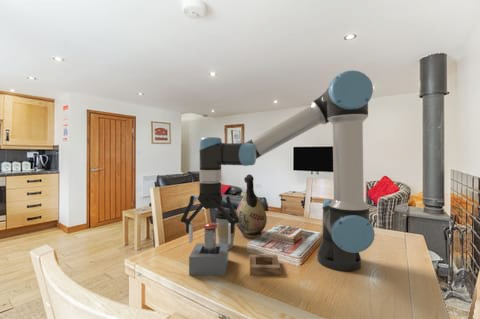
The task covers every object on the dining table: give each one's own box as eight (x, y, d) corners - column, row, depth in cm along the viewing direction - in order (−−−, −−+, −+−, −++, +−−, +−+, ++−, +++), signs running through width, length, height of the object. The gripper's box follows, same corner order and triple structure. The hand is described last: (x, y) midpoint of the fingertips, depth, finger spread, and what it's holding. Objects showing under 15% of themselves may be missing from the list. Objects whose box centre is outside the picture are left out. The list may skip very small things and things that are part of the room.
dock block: (228, 259, 92) (228, 243, 92) (225, 275, 80) (225, 257, 80) (196, 259, 93) (196, 243, 93) (188, 274, 81) (188, 256, 80)
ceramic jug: (234, 229, 128) (235, 172, 128) (264, 229, 129) (264, 172, 128) (235, 241, 111) (235, 175, 111) (269, 241, 112) (270, 175, 111)
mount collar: (276, 261, 91) (276, 255, 91) (280, 275, 81) (280, 267, 81) (249, 261, 91) (249, 254, 91) (250, 274, 81) (250, 267, 81)
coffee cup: (234, 251, 100) (234, 215, 99) (211, 249, 102) (212, 213, 101) (238, 243, 109) (239, 209, 109) (218, 241, 111) (218, 208, 111)
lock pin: (217, 263, 89) (217, 222, 88) (215, 270, 84) (216, 226, 84) (204, 263, 89) (204, 222, 89) (202, 269, 84) (202, 226, 84)
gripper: (246, 181, 89) (245, 239, 90) (177, 180, 90) (177, 237, 90) (246, 183, 82) (245, 246, 82) (171, 182, 82) (171, 245, 83)
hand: (210, 242), depth 86 cm, fingers open, 13 cm apart
